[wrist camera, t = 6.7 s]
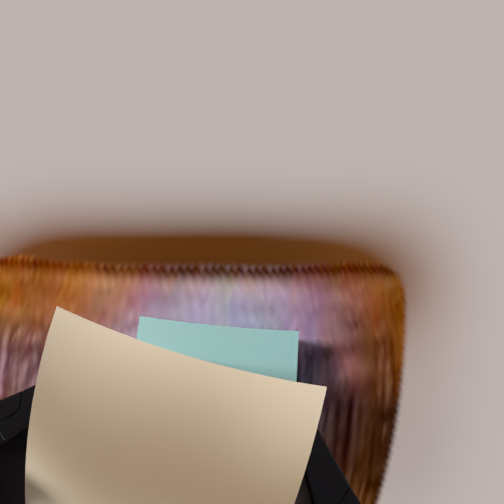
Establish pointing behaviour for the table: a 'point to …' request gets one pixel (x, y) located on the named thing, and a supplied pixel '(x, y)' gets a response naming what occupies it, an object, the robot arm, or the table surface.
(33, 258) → the table surface
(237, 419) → the pillar
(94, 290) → the table surface
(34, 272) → the table surface
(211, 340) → the base block
